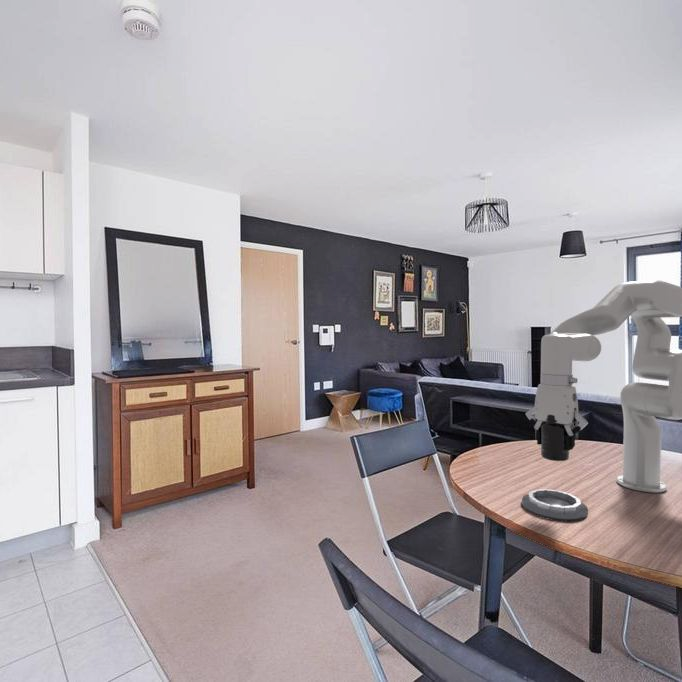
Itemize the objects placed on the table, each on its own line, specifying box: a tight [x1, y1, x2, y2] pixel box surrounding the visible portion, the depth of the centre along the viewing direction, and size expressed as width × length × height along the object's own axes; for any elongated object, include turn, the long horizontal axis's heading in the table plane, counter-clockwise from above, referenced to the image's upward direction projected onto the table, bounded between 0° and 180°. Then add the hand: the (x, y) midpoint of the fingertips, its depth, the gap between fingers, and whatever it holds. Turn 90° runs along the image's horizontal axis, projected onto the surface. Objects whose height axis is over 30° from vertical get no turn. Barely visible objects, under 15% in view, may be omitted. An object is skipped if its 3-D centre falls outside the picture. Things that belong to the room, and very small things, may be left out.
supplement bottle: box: [540, 415, 570, 462], centre depth 118 cm, size 7×7×12 cm
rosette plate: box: [521, 488, 589, 522], centre depth 119 cm, size 16×16×3 cm
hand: (554, 446), depth 118 cm, fingers closed on supplement bottle, 6 cm apart
